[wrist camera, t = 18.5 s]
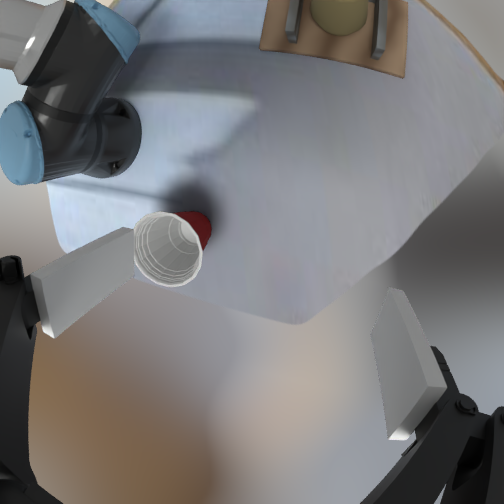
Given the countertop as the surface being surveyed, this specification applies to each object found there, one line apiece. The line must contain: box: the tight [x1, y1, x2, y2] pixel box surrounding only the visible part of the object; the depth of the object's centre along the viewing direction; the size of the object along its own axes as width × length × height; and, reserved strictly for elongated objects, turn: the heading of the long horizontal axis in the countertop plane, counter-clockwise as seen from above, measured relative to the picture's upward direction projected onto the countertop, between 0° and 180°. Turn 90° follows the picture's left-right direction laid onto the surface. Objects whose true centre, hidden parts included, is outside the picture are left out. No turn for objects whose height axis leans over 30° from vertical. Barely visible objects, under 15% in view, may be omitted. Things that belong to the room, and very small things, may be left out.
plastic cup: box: [134, 211, 212, 287], centre depth 43 cm, size 11×11×12 cm
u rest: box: [259, 0, 408, 79], centre depth 29 cm, size 22×15×6 cm
